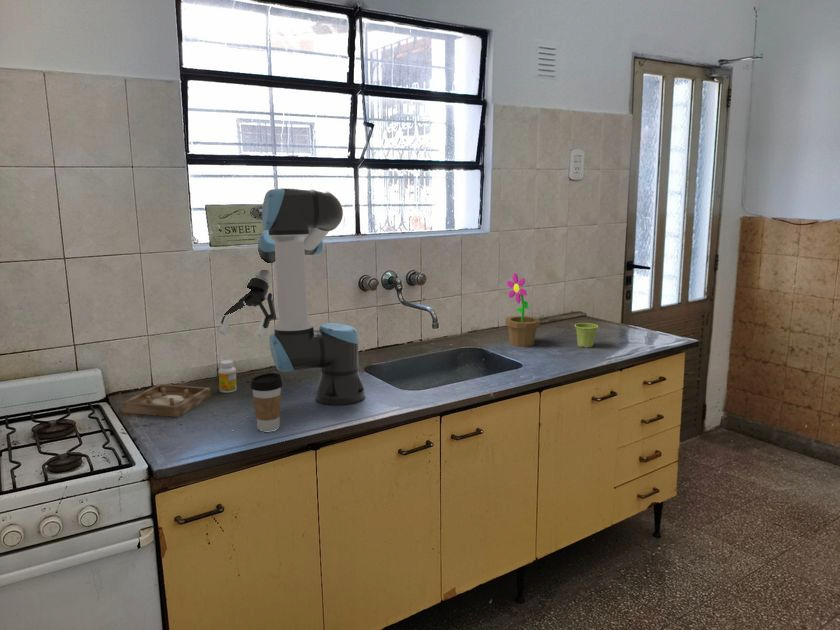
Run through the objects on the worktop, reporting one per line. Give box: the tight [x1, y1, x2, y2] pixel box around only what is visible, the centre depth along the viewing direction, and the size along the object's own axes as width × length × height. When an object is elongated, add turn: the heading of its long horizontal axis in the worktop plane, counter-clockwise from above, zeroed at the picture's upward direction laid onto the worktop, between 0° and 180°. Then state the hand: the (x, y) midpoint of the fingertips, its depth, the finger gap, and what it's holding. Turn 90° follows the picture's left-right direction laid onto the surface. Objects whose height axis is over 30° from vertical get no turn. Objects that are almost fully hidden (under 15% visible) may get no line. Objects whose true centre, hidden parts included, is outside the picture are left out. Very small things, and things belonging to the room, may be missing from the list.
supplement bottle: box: [218, 359, 238, 394], centre depth 209 cm, size 5×5×10 cm
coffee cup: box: [250, 372, 283, 431], centre depth 177 cm, size 8×8×15 cm
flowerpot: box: [504, 272, 541, 348], centre depth 265 cm, size 14×14×30 cm
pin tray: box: [121, 383, 211, 418], centre depth 196 cm, size 18×18×4 cm
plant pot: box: [574, 322, 599, 349], centre depth 265 cm, size 9×9×9 cm
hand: (241, 334), depth 217 cm, fingers open, 13 cm apart
